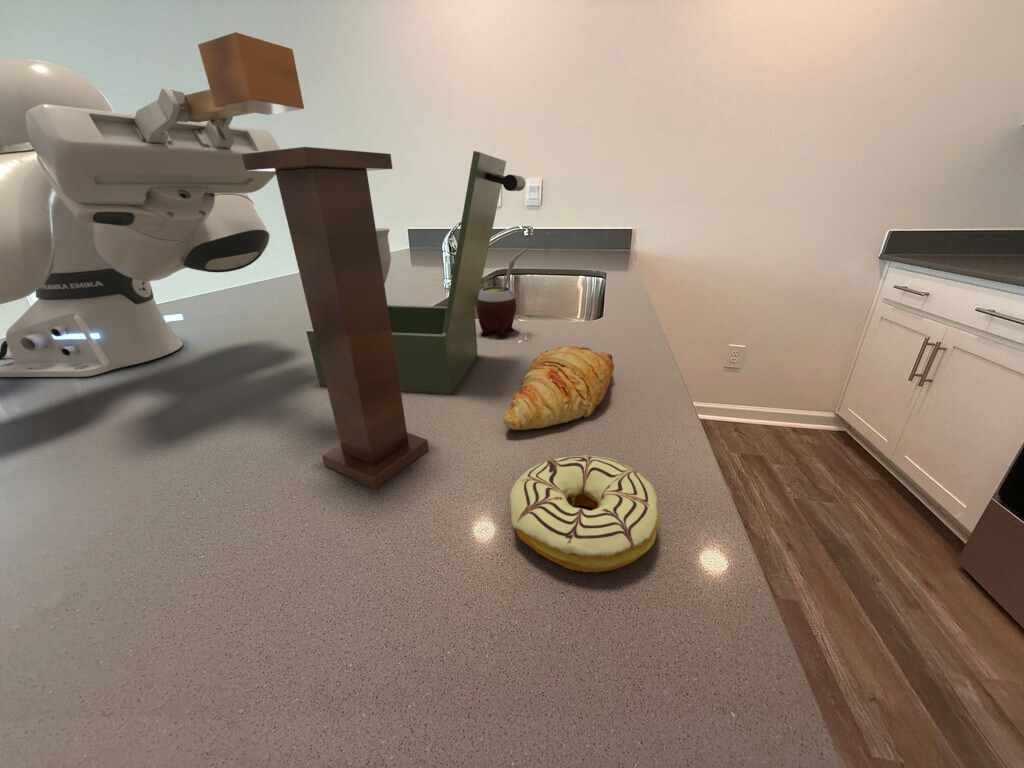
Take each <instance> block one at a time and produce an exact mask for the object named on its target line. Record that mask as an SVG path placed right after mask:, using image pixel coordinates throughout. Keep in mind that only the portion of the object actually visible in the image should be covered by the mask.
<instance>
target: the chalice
mask: <svg viewBox="0 0 1024 768" xmlns="http://www.w3.org/2000/svg"><path fill="white" fill-rule="evenodd" d="M390 231H391V230H390V228H386V227H376V234H377V240H378V247H379V253H380V260H381V266H382V273H383V279H384V284H386V283H387V278H388V275H389V272H390V269H391V268H390V267H391V263H392V262H391V261H392V255H391V250H390V242H389V241H390V240H389V233H390Z"/></svg>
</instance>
